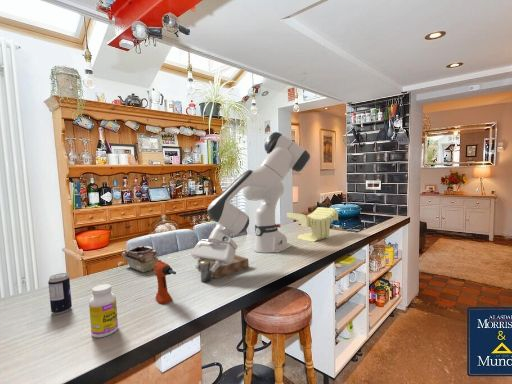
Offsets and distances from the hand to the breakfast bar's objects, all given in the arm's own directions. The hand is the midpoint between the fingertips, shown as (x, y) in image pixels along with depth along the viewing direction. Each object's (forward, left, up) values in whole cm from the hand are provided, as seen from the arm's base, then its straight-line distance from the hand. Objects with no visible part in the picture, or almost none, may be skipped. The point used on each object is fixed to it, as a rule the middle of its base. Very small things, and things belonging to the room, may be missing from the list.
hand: (204, 270), depth 113 cm
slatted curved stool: (-86, -9, -5) cm, 86 cm away
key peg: (-1, 0, -5) cm, 5 cm away
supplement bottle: (+39, +11, -5) cm, 41 cm away
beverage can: (+46, -14, -5) cm, 49 cm away
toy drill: (+19, +8, -5) cm, 21 cm away
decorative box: (+13, -39, -5) cm, 41 cm away
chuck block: (-14, -6, -5) cm, 16 cm away
